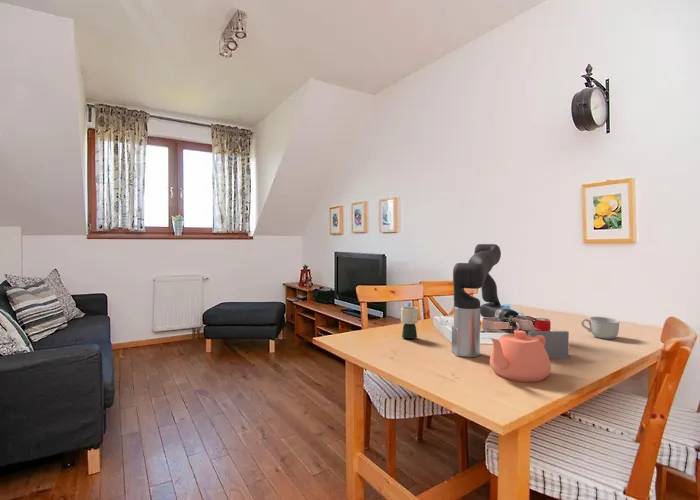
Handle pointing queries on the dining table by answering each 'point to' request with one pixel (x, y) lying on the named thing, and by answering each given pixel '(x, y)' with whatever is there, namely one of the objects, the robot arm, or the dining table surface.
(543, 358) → the teapot
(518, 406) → the dining table surface
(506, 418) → the dining table surface
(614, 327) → the teacup
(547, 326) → the beverage can
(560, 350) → the screen
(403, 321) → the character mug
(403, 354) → the dining table surface
